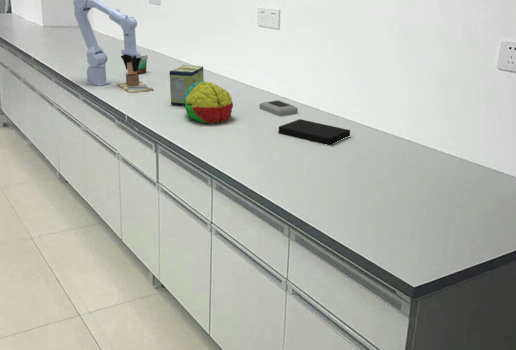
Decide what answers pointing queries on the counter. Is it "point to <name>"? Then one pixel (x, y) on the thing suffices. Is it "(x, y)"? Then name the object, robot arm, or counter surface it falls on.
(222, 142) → the counter surface
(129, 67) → the terracotta block
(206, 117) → the brain model
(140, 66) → the food container
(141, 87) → the baseplate
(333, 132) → the black microchip
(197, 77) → the protein box
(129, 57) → the robot arm
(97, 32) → the counter surface
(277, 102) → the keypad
